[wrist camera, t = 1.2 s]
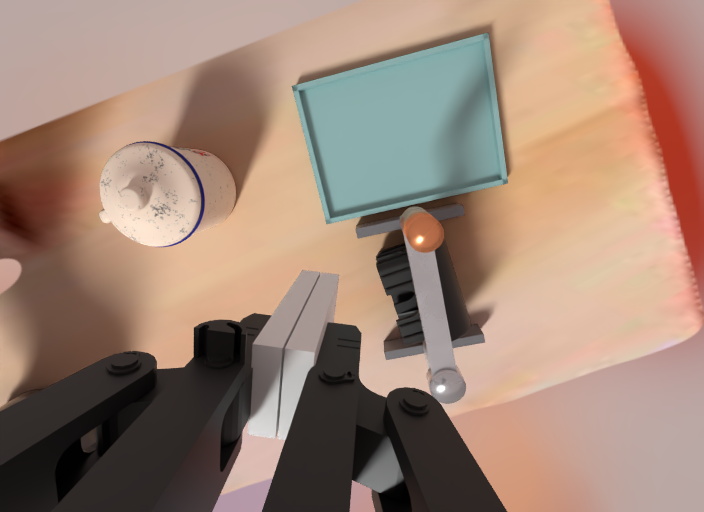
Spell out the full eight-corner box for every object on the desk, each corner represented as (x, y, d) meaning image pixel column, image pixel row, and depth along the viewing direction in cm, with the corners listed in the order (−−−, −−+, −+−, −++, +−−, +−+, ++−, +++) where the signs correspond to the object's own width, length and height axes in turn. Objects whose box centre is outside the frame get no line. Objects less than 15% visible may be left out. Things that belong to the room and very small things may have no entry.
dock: (386, 354, 43) (389, 394, 35) (356, 225, 39) (352, 239, 32) (479, 337, 42) (503, 375, 34) (457, 202, 38) (478, 211, 30)
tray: (328, 222, 39) (326, 224, 38) (294, 88, 36) (291, 86, 35) (503, 182, 37) (508, 183, 36) (484, 37, 34) (488, 32, 33)
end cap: (461, 308, 41) (478, 335, 34) (402, 326, 42) (408, 356, 35) (436, 227, 39) (448, 239, 32) (374, 248, 40) (374, 264, 33)
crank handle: (429, 392, 35) (445, 453, 27) (391, 208, 31) (397, 222, 23) (463, 387, 34) (487, 447, 27) (428, 200, 30) (447, 211, 23)
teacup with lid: (219, 134, 38) (154, 121, 26) (252, 216, 40) (204, 235, 28) (121, 171, 39) (20, 174, 28) (157, 248, 41) (76, 279, 30)
